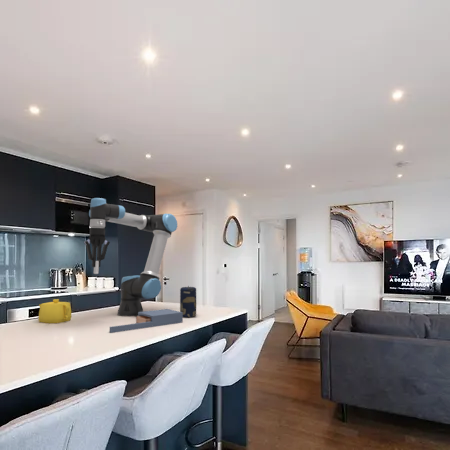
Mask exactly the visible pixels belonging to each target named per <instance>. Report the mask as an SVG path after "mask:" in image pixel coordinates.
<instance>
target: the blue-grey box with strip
mask: <svg viewBox="0 0 450 450" xmlns="http://www.w3.org/2000/svg"><path fill="white" fill-rule="evenodd" d="M138 316H147V317H151V321H149V322H142V323H136V322H134V323H129V324H122V325H121V324H120V325H114V326H109V330H108V332H109V333H110V334H113V333H119V332H125V331H134V330H139V329H146V328H154V327H159V326H167V325H175V324H180V323H183V322H184V321H183V318H184V317H183V312H180V310H179V311H178V310H173V309H170V308H169V309H168V308H163V309H155V310H153V309H152V310H145V311H144V310H143V312H138V315H137V317H138Z"/></svg>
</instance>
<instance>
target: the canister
mask: <svg viewBox="0 0 450 450" xmlns="http://www.w3.org/2000/svg"><path fill="white" fill-rule="evenodd" d="M179 294H180V295H179V312H183V318H191V317H195V316H197V288H196V286H195V287H194V286H189V285H188V286H183V287H180V289H179Z"/></svg>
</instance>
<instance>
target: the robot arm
mask: <svg viewBox="0 0 450 450" xmlns="http://www.w3.org/2000/svg"><path fill="white" fill-rule="evenodd" d="M89 207H90V209H89V211H88V216H89V227H90V228H89V236H88V238H87V240H84V241H83V244H84V245H85V248H86V249H85V250H86V253H87V258H88V260H89V261H90V260H91V262H92V263H91V267H92V268H93V274H94V275H98V274H99V271H100V270H99V268H100V267H101V262H102V261H104V260H105V258H106V254H107V249H108V246H110V245H109V244H110V243H111V242H110V241H109V240H107V239H106V229H105V227H106V222H109V223H115V224H119V225H124V226H129V227H135V228H137V229H138V230H141V231H146V232H150V233H153V238H152V240H151V241H152V242H151V245H150V250H149V253H148V256H147V259H146V263H145V267H144V270H143V271H142V272H141V273H140V275H128V276H123V277H122V278H121V284H120V302H119V303H120V304H119V306H118V309H117V316H122V317H133V316H135V317H136V316H138V312H144V308H143V305H142V302H141V301H142V299H146V300H147V299H155V298H156V297H157V296H159V294H160V293H161V290H162V282H161V281H160V278H161V277H160V276H159V273H160V268H161V265H162V262H163V261H162V260H163V258H164V253H165V250H166V247H167V242H168V240H169V238H171V237H172V234H173V233H174V232H175V231H176V230H177V229H178V221H177V217H176V216H175V215H174V214H172V213H161V214H150V215H147V214H141V215H140V214H139V215H137V214H134V213H129V212H126V208H125V207H124V206H123V205H119V204H114V203H113V204H112V203H111V204H110V203H107V199H106V198H102V197H101V198H100V197H94V198H91V200H90V206H89ZM90 244H91V246H90ZM91 248H92V249H91ZM141 298H142V299H141Z"/></svg>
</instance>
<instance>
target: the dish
mask: <svg viewBox="0 0 450 450" xmlns="http://www.w3.org/2000/svg"><path fill="white" fill-rule="evenodd" d="M149 321H151V317H147V316H138V315H137V316H135V323H142V322H149Z"/></svg>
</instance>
